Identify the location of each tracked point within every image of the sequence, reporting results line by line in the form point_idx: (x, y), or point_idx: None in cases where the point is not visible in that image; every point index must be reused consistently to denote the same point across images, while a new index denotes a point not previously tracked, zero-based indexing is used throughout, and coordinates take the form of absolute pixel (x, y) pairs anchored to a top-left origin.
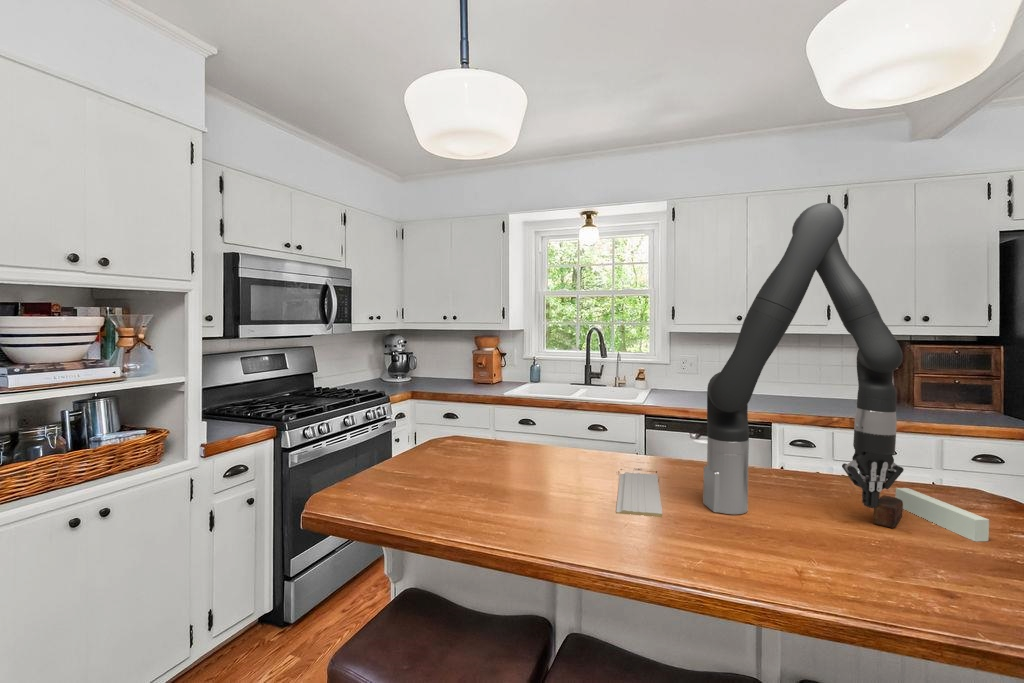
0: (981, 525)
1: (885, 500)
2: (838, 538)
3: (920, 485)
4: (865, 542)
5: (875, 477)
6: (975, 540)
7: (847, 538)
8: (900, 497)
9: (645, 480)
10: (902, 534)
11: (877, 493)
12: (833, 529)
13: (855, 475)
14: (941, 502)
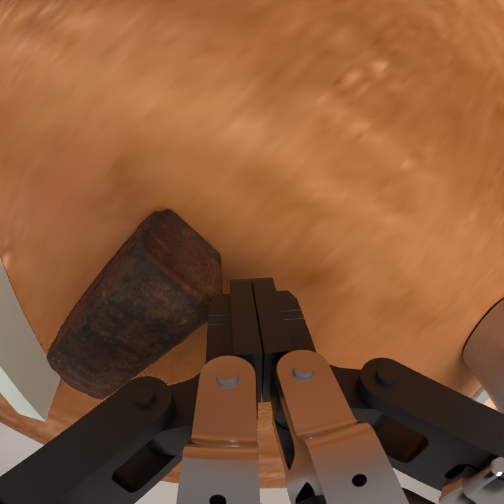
0: None
1: (121, 356)
2: (450, 137)
3: (6, 422)
4: (396, 84)
5: (325, 476)
6: None
7: (427, 129)
8: (42, 391)
9: (482, 397)
10: (165, 144)
11: (237, 346)
12: (414, 208)
13: (495, 421)
14: None
